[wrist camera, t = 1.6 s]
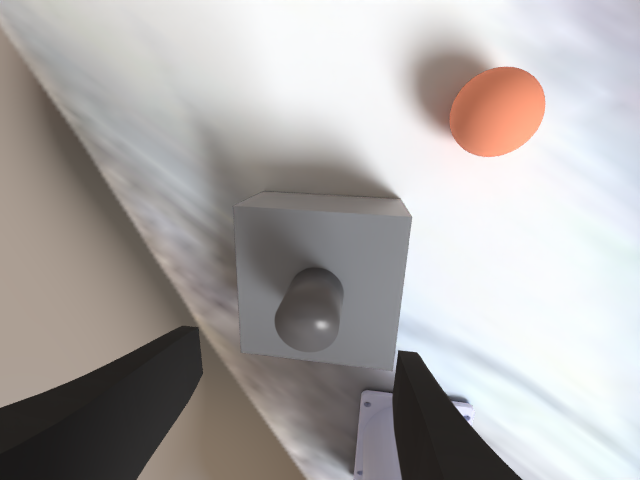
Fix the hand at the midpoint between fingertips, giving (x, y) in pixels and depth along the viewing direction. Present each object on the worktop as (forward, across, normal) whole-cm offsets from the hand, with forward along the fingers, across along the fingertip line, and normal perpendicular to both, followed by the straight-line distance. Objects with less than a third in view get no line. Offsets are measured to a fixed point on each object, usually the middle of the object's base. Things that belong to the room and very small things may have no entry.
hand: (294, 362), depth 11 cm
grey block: (+10, 0, 0) cm, 10 cm away
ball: (+8, -8, -9) cm, 15 cm away
